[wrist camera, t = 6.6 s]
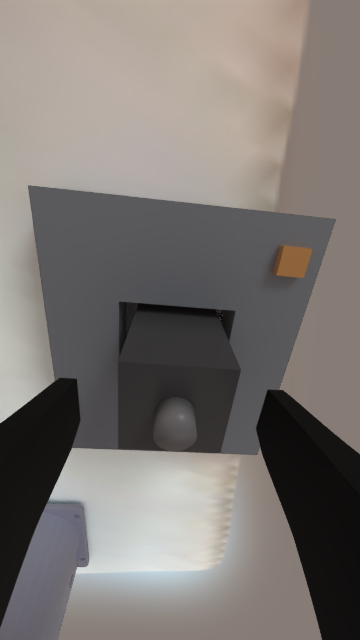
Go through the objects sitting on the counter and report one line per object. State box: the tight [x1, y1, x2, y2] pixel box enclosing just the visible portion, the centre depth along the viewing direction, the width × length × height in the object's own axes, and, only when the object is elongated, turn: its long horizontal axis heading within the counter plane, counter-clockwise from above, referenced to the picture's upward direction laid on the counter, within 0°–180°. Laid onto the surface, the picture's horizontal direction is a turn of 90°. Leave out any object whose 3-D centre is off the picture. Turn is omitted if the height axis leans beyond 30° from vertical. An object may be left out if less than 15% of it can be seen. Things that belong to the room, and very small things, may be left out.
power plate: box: [28, 185, 336, 455], centre depth 13 cm, size 14×12×2 cm
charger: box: [118, 303, 241, 453], centre depth 11 cm, size 4×4×7 cm
